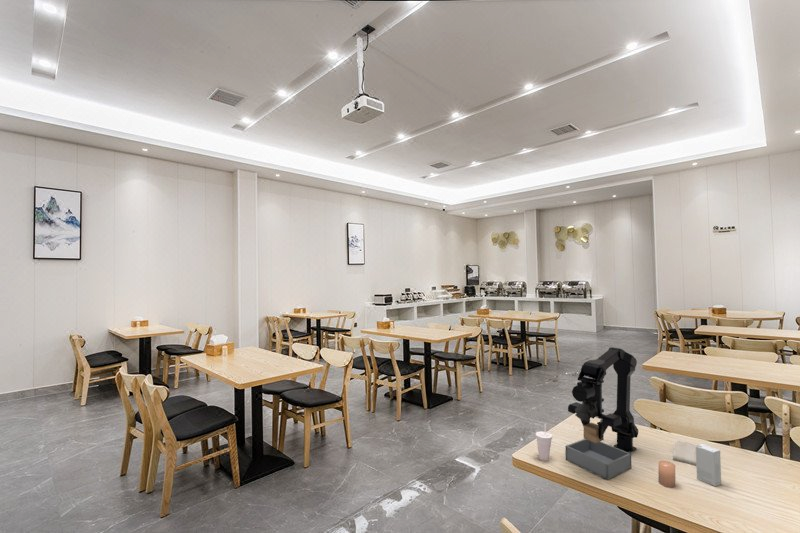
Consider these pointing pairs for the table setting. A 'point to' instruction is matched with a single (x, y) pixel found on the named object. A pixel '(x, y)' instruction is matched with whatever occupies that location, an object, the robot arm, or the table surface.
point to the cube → (592, 432)
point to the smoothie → (544, 444)
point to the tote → (598, 458)
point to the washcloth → (685, 452)
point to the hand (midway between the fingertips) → (593, 436)
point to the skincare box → (708, 464)
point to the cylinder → (666, 474)
